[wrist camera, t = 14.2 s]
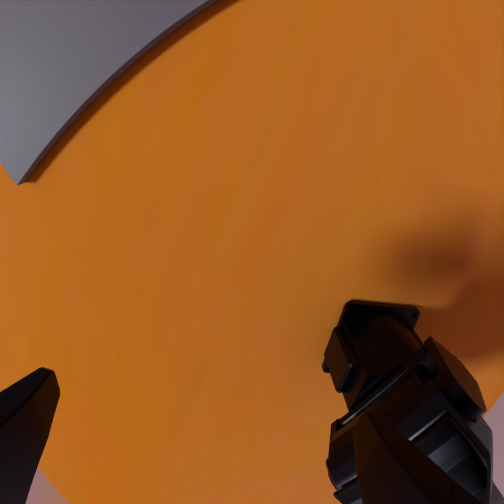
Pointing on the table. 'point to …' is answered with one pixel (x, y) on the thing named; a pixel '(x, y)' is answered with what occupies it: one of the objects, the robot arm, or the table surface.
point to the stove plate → (69, 63)
